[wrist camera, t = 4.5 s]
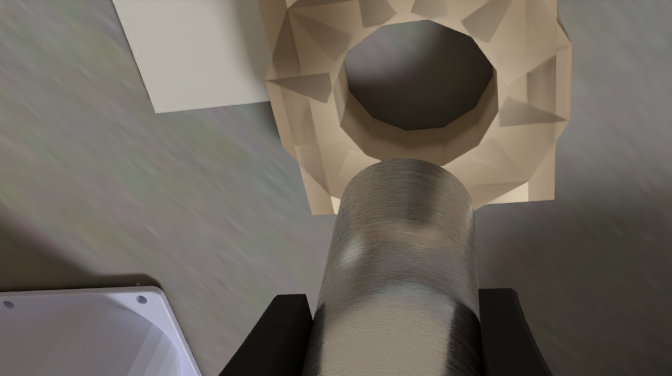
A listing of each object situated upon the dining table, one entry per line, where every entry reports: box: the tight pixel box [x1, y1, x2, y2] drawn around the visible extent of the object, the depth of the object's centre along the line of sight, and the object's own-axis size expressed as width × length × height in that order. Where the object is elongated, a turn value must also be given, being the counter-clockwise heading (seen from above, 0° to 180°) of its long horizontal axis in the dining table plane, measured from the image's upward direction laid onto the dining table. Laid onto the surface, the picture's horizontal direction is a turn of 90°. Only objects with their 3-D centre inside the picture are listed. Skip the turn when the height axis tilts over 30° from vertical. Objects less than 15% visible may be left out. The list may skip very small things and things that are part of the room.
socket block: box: [257, 0, 572, 215], centre depth 19 cm, size 9×9×2 cm
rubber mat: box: [113, 0, 272, 113], centre depth 21 cm, size 5×5×1 cm
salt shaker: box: [301, 158, 484, 376], centre depth 12 cm, size 4×4×9 cm
